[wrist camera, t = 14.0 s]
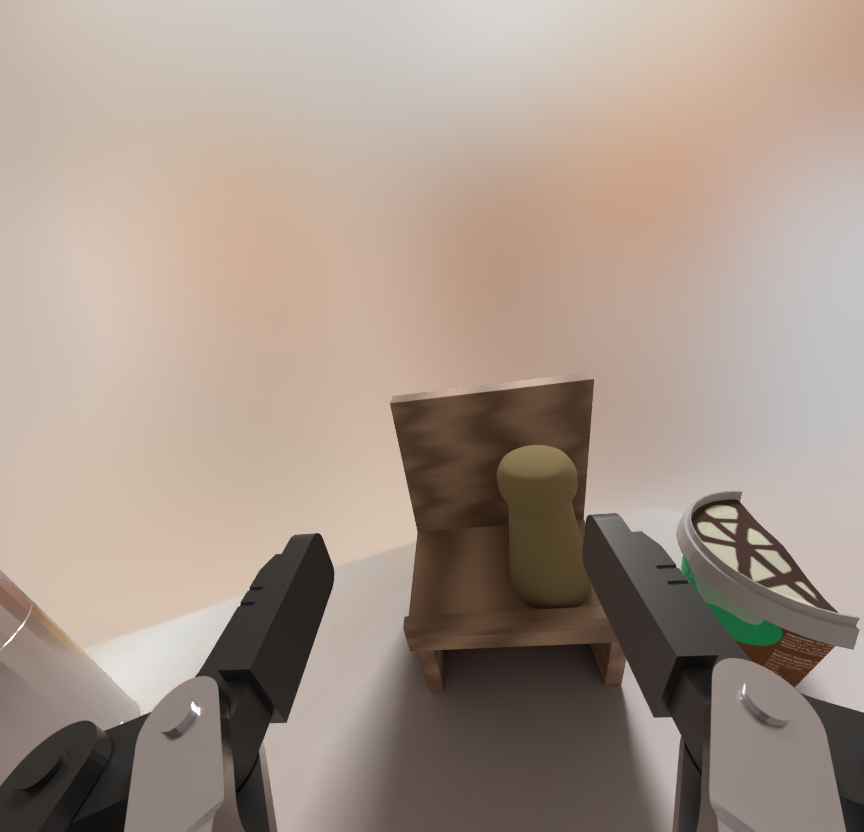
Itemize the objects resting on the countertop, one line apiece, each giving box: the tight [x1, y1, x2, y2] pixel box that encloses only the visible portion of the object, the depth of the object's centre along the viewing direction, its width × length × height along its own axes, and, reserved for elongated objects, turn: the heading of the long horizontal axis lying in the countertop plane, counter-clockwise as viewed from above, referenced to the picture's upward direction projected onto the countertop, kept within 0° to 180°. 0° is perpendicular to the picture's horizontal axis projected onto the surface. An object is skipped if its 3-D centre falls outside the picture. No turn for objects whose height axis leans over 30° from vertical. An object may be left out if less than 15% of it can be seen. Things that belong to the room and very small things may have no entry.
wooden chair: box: [390, 373, 626, 691], centre depth 25 cm, size 16×12×22 cm
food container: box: [676, 491, 859, 687], centre depth 26 cm, size 12×6×10 cm, turn 165°
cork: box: [497, 445, 592, 609], centre depth 23 cm, size 6×6×11 cm
